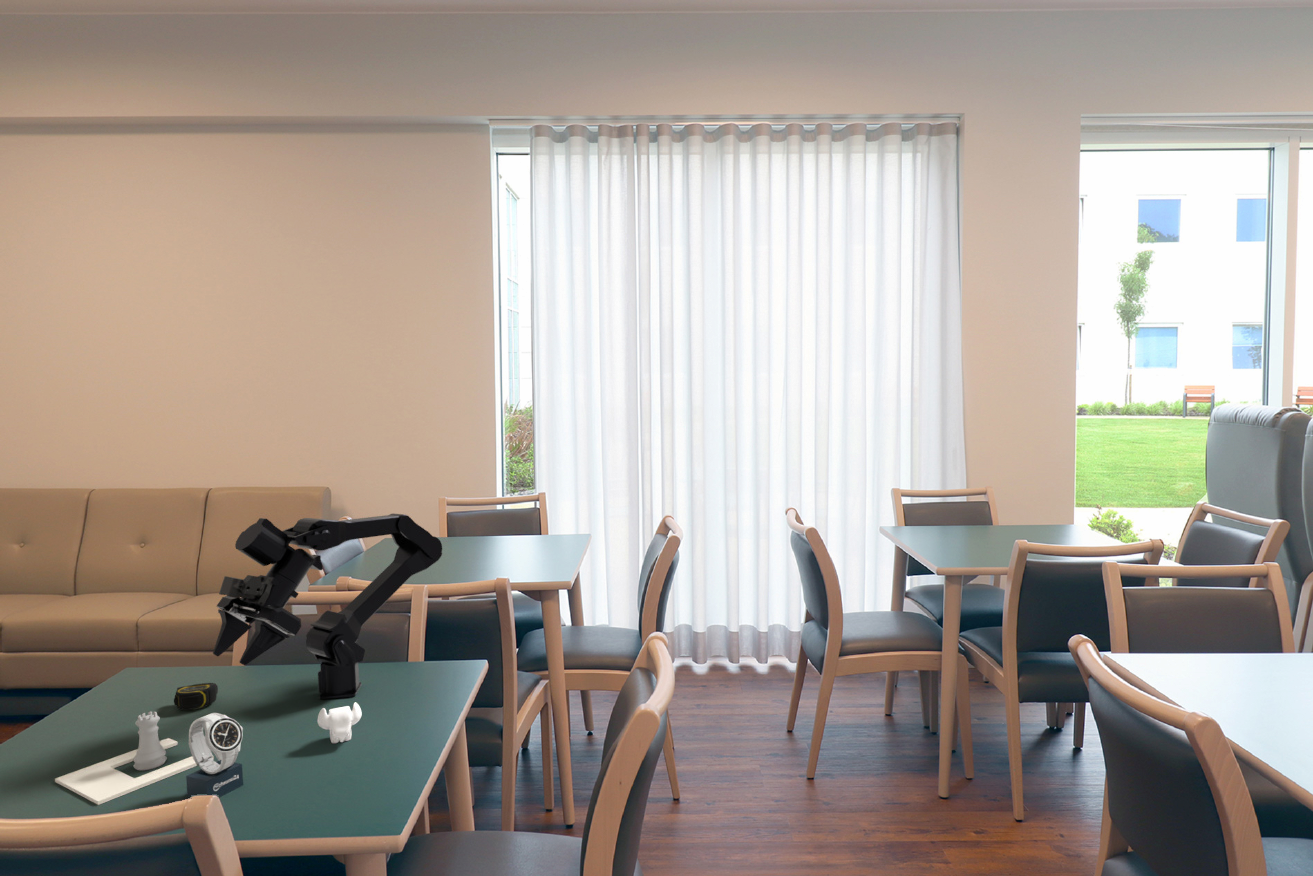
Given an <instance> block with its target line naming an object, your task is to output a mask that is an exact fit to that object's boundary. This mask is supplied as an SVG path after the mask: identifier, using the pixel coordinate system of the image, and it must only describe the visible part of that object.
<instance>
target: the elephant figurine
mask: <svg viewBox="0 0 1313 876" xmlns="http://www.w3.org/2000/svg"><path fill="white" fill-rule="evenodd" d="M352 704H353V705H352V709H351V707H350V706H349V705H346V706H345V705H344V706H342V707H341V706H340V707H334V708H330V709H329V710H328V713H327V710H326V708H325V707H322V708H321V709H320V711H319V713H318V714H317V725H318V726H319V727H320V728H321V729H323V730H325V731H326V730H329V739H330V742H331V744H337V743H339V742H340V743H343V742H348V741H350V740H352V733H353V732H352V726H354V725H356V724H357V723H358V722H359V721H360V720H361V718H362V716H363V715H362V714H363V713H362V709H361V706H360V705H359V703H358V702H354V703H352Z"/></svg>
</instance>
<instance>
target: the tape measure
mask: <svg viewBox="0 0 1313 876" xmlns="http://www.w3.org/2000/svg"><path fill="white" fill-rule="evenodd" d="M218 692H219V689H218V685H217V684H216V683H215V682H204V683H196V684H191V685H184V686H179V687H177V688H176V691H175V695H174V698H173V704H174V705H175V707H176V708H177V709H179V710H183V711H185V710H193V711H194V710H199V709H203V708H204V707H207V706H210V705H211V704H213V703H215V701H216V700H217V697H218V696H217V695H218Z"/></svg>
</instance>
